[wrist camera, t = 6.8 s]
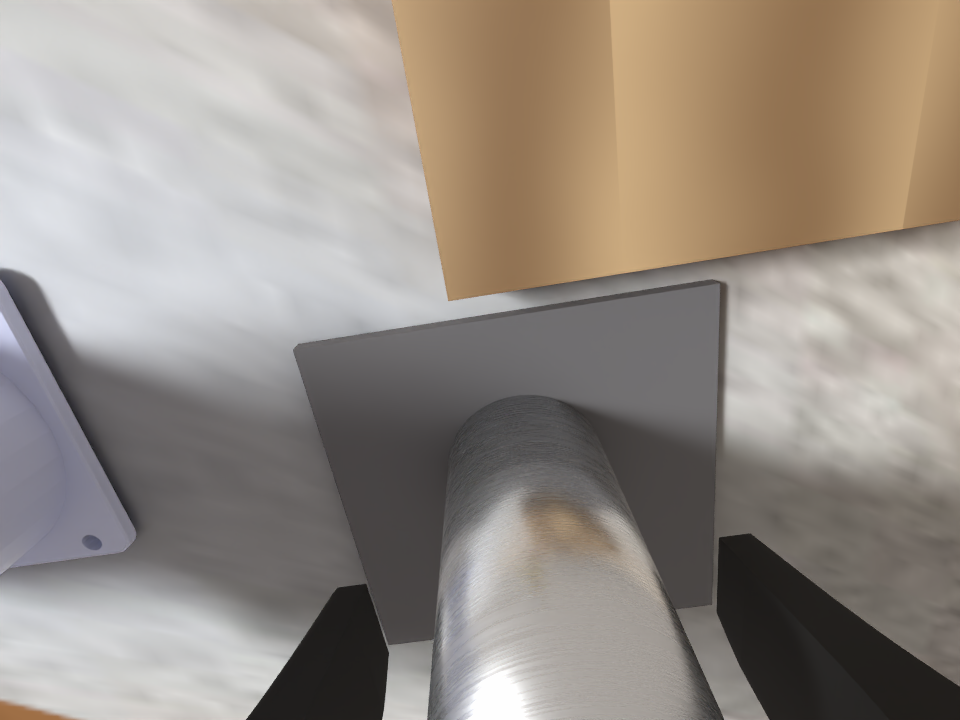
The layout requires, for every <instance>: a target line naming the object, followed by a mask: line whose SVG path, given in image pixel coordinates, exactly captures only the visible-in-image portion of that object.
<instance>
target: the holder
mask: <svg viewBox="0 0 960 720" xmlns="http://www.w3.org/2000/svg"><path fill="white" fill-rule="evenodd" d="M392 5H393V10H394V16H395V21H396V26H397V31H398V37H399V42H400V47H401V53H402V58H403V63H404V68H405V74H406V79H407V84H408V90H409V95H410V100H411V105H412V111H413V116H414V121H415V127H416V132H417V137H418V143H419V148H420V153H421V158H422V164H423V169H424V174H425V180H426V185H427V190H428V195H429V201H430V206H431V211H432V217H433V222H434V227H435V232H436V238H437V243H438V248H439V254H440V259H441V264H442V270H443V275H444V280H445V285H446V291H447V296H448V301H452V300H459V299H465V298H471V297H477V296H484V295H490V294H496V293H503V292H509V291H515V290H522V289H528V288H534V287H541V286H547V285H553V284H560V283H566V282H572V281H578V280H585V279H591V278H597V277H604V276H610V275H616V274H623V273H629V272H635V271H642V270H648V269H654V268H661V267H667V266H673V265H679V264H686V263H692V262H698V261H705V260H711V259H717V258H724V257H730V256H736V255H743V254H749V253H755V252H762V251H768V250H774V249H780V248H787V247H793V246H799V245H806V244H812V243H818V242H825V241H831V240H837V239H844V238H850V237H856V236H863V235H869V234H875V233H881V232H888V231H894V230H900V229H907V228H913V227H919V226H926V225H932V224H938V223H945V222H951V221H957V220H960V0H392Z"/></svg>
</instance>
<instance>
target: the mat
mask: <svg viewBox="0 0 960 720" xmlns="http://www.w3.org/2000/svg"><path fill="white" fill-rule="evenodd" d="M719 312H720V283H718V282H716V281H714V280H706V281H699V282H693V283H686V284H680V285H674V286H667V287H661V288H654V289H648V290H642V291H635V292H629V293H622V294H616V295H610V296H603V297H597V298H591V299H584V300H578V301H571V302H565V303H559V304H552V305H546V306H539V307H533V308H527V309H520V310H514V311H507V312H501V313H495V314H488V315H482V316H475V317H469V318H463V319H456V320H450V321H444V322H437V323H431V324H424V325H418V326H412V327H405V328H399V329H392V330H386V331H380V332H373V333H367V334H360V335H354V336H348V337H341V338H335V339H328V340H322V341H316V342H309V343H303V344H298V345H297V346H296V347H295V348H294V349H293V352H294V355H295V358H296V361H297V364H298V367H299V370H300V373H301V377H302V380H303V383H304V386H305V389H306V392H307V395H308V398H309V401H310V404H311V407H312V410H313V413H314V417H315V420H316V423H317V426H318V429H319V432H320V435H321V438H322V441H323V444H324V447H325V450H326V454H327V457H328V460H329V463H330V466H331V469H332V472H333V475H334V478H335V481H336V484H337V487H338V490H339V494H340V497H341V500H342V503H343V506H344V509H345V512H346V515H347V518H348V521H349V524H350V527H351V530H352V534H353V537H354V540H355V543H356V546H357V549H358V552H359V555H360V558H361V561H362V564H363V567H364V571H365V574H366V577H367V580H368V583H369V586H370V589H371V592H372V595H373V598H374V601H375V604H376V607H377V611H378V614H379V617H380V620H381V623H382V626H383V629H384V632H385V635H386V638H387V641H388V644H389V645H393V644H401V643H409V642H417V641H425V640H433V639H434V633H435V621H436V609H437V597H438V585H439V573H440V561H441V549H442V537H443V525H444V512H445V500H446V488H447V476H448V464H449V455H450V449H451V446H452V443H453V440H454V438H455V436H456V434H457V432H458V431H459V429H460V428H461V426H462V425H463V424H464V423H465V422H466V420H467V419H468V418H469V417H470V416H472V415H473V414H474V413H475V412H476V411H478V410H479V409H481V408H483V407H484V406H486V405H488V404H490V403H492V402H494V401H497V400H500V399H503V398H507V397H512V396H518V395H539V396H546V397H550V398H553V399H557V400H559V401H562V402H564V403H566V404H568V405H570V406H571V407H573V408H575V409H576V410H577V411H578V412H580V413H581V414H582V415H583V416H584V417H585V418H586V419H587V420H588V421H589V423H590V424H591V425H592V427H593V428H594V430H595V432H596V434H597V436H598V439H599V441H600V443H601V445H602V447H603V450H604V452H605V454H606V456H607V459H608V461H609V463H610V465H611V468H612V470H613V472H614V474H615V477H616V479H617V481H618V483H619V485H620V488H621V490H622V492H623V494H624V497H625V499H626V501H627V503H628V506H629V508H630V510H631V512H632V515H633V517H634V519H635V521H636V523H637V526H638V528H639V530H640V532H641V535H642V537H643V539H644V541H645V544H646V546H647V548H648V550H649V553H650V555H651V557H652V559H653V561H654V564H655V566H656V568H657V570H658V573H659V575H660V577H661V579H662V582H663V584H664V586H665V588H666V591H667V593H668V595H669V597H670V599H671V602H672V604H673V606H674V608H675V609H681V608H689V607H697V606H705V605H712V582H713V543H714V505H715V466H716V427H717V389H718V350H719Z"/></svg>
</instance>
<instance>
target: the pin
mask: <svg viewBox="0 0 960 720" xmlns="http://www.w3.org/2000/svg"><path fill="white" fill-rule="evenodd" d="M427 720H724V718H723V716H722V714H721V711H720V709H719V707H718V705H717V702H716V700H715V698H714V696H713V693H712V691H711V689H710V687H709V684H708V682H707V680H706V678H705V676H704V673H703V671H702V669H701V667H700V664H699V662H698V660H697V658H696V655H695V653H694V651H693V649H692V646H691V644H690V642H689V640H688V637H687V635H686V633H685V631H684V629H683V626H682V624H681V622H680V620H679V617H678V615H677V613H676V611H675V608H674V606H673V604H672V602H671V599H670V597H669V595H668V593H667V591H666V588H665V586H664V584H663V582H662V579H661V577H660V575H659V573H658V570H657V568H656V566H655V564H654V561H653V559H652V557H651V555H650V553H649V550H648V548H647V546H646V544H645V541H644V539H643V537H642V535H641V532H640V530H639V528H638V526H637V523H636V521H635V519H634V517H633V515H632V512H631V510H630V508H629V506H628V503H627V501H626V499H625V497H624V494H623V492H622V490H621V488H620V485H619V483H618V481H617V479H616V477H615V474H614V472H613V470H612V468H611V465H610V463H609V461H608V459H607V456H606V454H605V452H604V450H603V447H602V445H601V443H600V441H599V439H598V436H597V434H596V432H595V430H594V428H593V427H592V425H591V424H590V423H589V421H588V420H587V419H586V418H585V417H584V416H583V415H582V414H581V413H580V412H578V411H577V410H576V409H575V408H573V407H571V406H570V405H568V404H566V403H564V402H562V401H559V400H557V399H553V398H550V397H546V396H539V395H518V396H512V397H507V398H503V399H500V400H497V401H494V402H492V403H490V404H488V405H486V406H484V407H483V408H481V409H479V410H478V411H476V412H475V413H474V414H473V415H472V416H470V417H469V418H468V419H467V420H466V422H465V423H464V424H463V425H462V426H461V428H460V429H459V431H458V432H457V434H456V436H455V438H454V440H453V443H452V446H451V449H450V455H449V464H448V476H447V488H446V500H445V512H444V525H443V537H442V549H441V561H440V573H439V585H438V597H437V609H436V621H435V633H434V645H433V657H432V669H431V681H430V693H429V706H428V718H427Z"/></svg>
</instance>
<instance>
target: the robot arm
mask: <svg viewBox="0 0 960 720" xmlns="http://www.w3.org/2000/svg"><path fill="white" fill-rule="evenodd" d="M135 538H136V531H135V528H134V526H133V525H132V523H131V521H130V519H129V517H128V515H127V513H126V511H125V510H124V508H123V506H122V504H121V502H120V500H119V498H118V496H117V495H116V493H115V491H114V489H113V487H112V485H111V483H110V481H109V480H108V478H107V476H106V474H105V472H104V470H103V468H102V466H101V465H100V463H99V461H98V459H97V457H96V455H95V453H94V451H93V450H92V448H91V446H90V444H89V442H88V440H87V438H86V436H85V435H84V433H83V431H82V429H81V427H80V425H79V423H78V421H77V420H76V418H75V416H74V414H73V412H72V410H71V408H70V407H69V405H68V403H67V401H66V399H65V397H64V395H63V393H62V392H61V390H60V388H59V386H58V384H57V382H56V380H55V378H54V377H53V375H52V373H51V371H50V369H49V367H48V365H47V363H46V362H45V360H44V358H43V356H42V354H41V352H40V350H39V348H38V347H37V345H36V343H35V341H34V339H33V337H32V335H31V333H30V332H29V330H28V328H27V326H26V324H25V322H24V320H23V318H22V317H21V315H20V313H19V311H18V309H17V307H16V305H15V303H14V302H13V300H12V298H11V296H10V294H9V292H8V290H7V288H6V287H5V285H4V284H3V282H2V281H1V280H0V575H1V574H2V573H3V572H4V571H6V570H7V569H8V568H13V567H21V566H28V565H35V564H42V563H50V562H57V561H64V560H71V559H79V558H86V557H93V556H100V555H108V554H115V553H120V552H123V551H125V550H126V549H127V548H128V547H129V546H130V545H131V544H132V543H133V541H134V540H135ZM717 614H718V616H719V619H720V621H721V624H722V626H723V628H724V631H725V633H726V635H727V638H728V640H729V643H730V645H731V647H732V649H733V652H734V654H735V656H736V658H737V661H738V663H739V665H740V667H741V669H742V671H743V673H744V675H745V676H746V678H747V680H748V682H749V684H750V685H751V687H752V689H753V691H754V693H755V694H756V696H757V698H758V700H759V702H760V703H761V705H762V707H763V709H764V711H765V712H766V714H767V716H768V718H769V720H960V687H959V686H958V685H956V684H955V683H953V682H952V681H950V680H949V679H947V678H946V677H944V676H942V675H941V674H939V673H938V672H937V671H935V670H934V669H932V668H931V667H929V666H928V665H926V664H925V663H923V662H922V661H920V660H919V659H917V658H916V657H914V656H913V655H912V654H910V653H909V652H907V651H906V650H904V649H903V648H901V647H900V646H898V645H897V644H896V643H894V642H893V641H891V640H890V639H888V638H887V637H886V636H884V635H883V634H881V633H880V632H879V631H877V630H876V629H875V628H873V627H872V626H870V625H869V624H868V623H866V622H865V621H864V620H862V619H861V618H860V617H858V616H857V615H856V614H854V613H853V612H851V611H850V610H849V609H847V608H846V607H845V606H843V605H842V604H841V603H839V602H838V601H837V600H835V599H834V598H833V597H831V596H830V595H829V594H827V593H826V592H825V591H823V590H822V589H821V588H819V587H818V586H817V585H816V584H814V583H813V582H812V581H810V580H809V579H808V578H807V577H805V576H804V575H803V574H801V573H800V572H799V571H798V570H796V569H795V568H794V567H792V566H791V565H790V564H789V563H787V562H786V561H785V560H784V559H782V558H781V557H780V556H778V555H777V554H776V553H775V552H773V551H772V550H771V549H770V548H768V547H767V546H766V545H764V544H763V543H762V542H761V541H759V540H758V539H757V538H755V537H754V536H753V535H751V534H742V535H735V536H727V537H720V538H719V554H718V586H717ZM388 657H389V652H388V649H387V646H386V643H385V640H384V637H383V634H382V631H381V628H380V625H379V621H378V618H377V615H376V612H375V609H374V606H373V603H372V600H371V597H370V594H369V591H368V588H367V585H366V584H362V585H355V586H347V587H340V588H337V589H336V590H335V592H334V593H333V595H332V596H331V597H330V599H329V600H328V602H327V603H326V605H325V606H324V608H323V610H322V611H321V613H320V614H319V616H318V617H317V619H316V620H315V622H314V623H313V625H312V626H311V628H310V629H309V631H308V632H307V634H306V635H305V637H304V638H303V640H302V641H301V643H300V644H299V646H298V647H297V649H296V650H295V652H294V653H293V655H292V656H291V658H290V659H289V660H288V662H287V663H286V665H285V666H284V668H283V669H282V670H281V672H280V673H279V675H278V676H277V678H276V679H275V680H274V682H273V683H272V685H271V686H270V688H269V689H268V690H267V692H266V693H265V695H264V696H263V698H262V699H261V700H260V702H259V703H258V704H257V706H256V707H255V708H254V710H253V711H252V712H251V714H250V715H249V716H248V718H247V719H246V720H382V717H383V711H384V703H385V693H386V682H387V670H388Z"/></svg>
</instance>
